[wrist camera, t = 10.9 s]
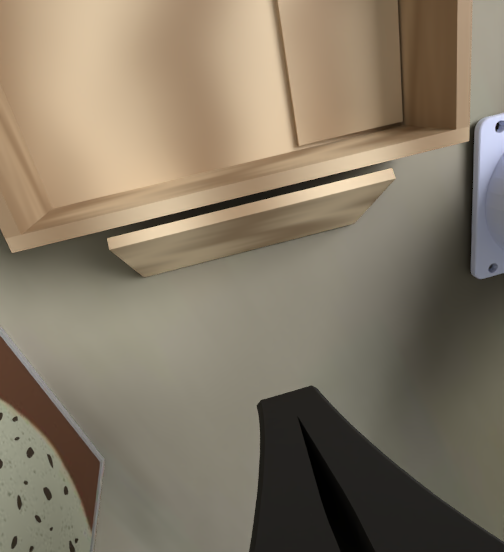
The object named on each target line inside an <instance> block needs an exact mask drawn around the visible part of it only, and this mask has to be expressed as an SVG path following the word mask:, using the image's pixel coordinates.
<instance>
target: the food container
mask: <svg viewBox="0 0 504 552" xmlns="http://www.w3.org/2000/svg"><path fill="white" fill-rule="evenodd" d="M104 465H105V459H104V458H103V457H102V455H101V454H100V453H99V452H98V450H97V449H96V448H95V446H94V445H93V444H92V443H91V441H90V440H89V439H88V437H87V436H86V435H85V434H84V432H83V431H82V430H81V428H80V427H79V426H78V425H77V423H76V422H75V421H74V419H73V418H72V417H71V416H70V414H69V413H68V412H67V410H66V409H65V408H64V407H63V405H62V404H61V403H60V401H59V400H58V399H57V398H56V396H55V395H54V394H53V392H52V391H51V390H50V389H49V387H48V386H47V385H46V383H45V382H44V381H43V380H42V378H41V377H40V376H39V374H38V373H37V372H36V371H35V369H34V368H33V367H32V365H31V364H30V363H29V362H28V360H27V359H26V358H25V357H24V355H23V354H22V353H21V351H20V350H19V349H18V348H17V346H16V345H15V344H14V342H13V341H12V340H11V339H10V337H9V336H8V335H7V333H6V332H5V331H4V330H3V328H2V327H1V326H0V552H94V549H95V541H96V533H97V524H98V516H99V507H100V499H101V490H102V482H103V473H104Z"/></svg>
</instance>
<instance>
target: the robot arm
mask: <svg viewBox="0 0 504 552" xmlns="http://www.w3.org/2000/svg"><path fill="white" fill-rule="evenodd" d="M498 122H499V128H498V130H497V131H495V126H496V124H497V123H498ZM491 264H492V267H491V268H490V269H489V266H490V265H491ZM502 273H504V113H501V114H497V115H492V116H488V117H485V118H482V119H481V120H480V121H479V122H478V123H477V125H476V127H475V132H474V169H473V205H472V242H471V274H472V275H473V276H474V277H476V278H478V279H484V278H488V277H491V276H495V275H499V274H502ZM257 409H258V413H259V422H260V464H259V480H258V492H257V500H256V508H255V516H254V524H253V531H252V538H251V544H250V550H249V552H504V542H503V541H501V540H500V539H498V538H497V537H495V536H494V535H492V534H491V533H489V532H488V531H486V530H485V529H483V528H482V527H480V526H479V525H477V524H476V523H474V522H473V521H471V520H470V519H468V518H467V517H465V516H464V515H463V514H461V513H460V512H458V511H457V510H455V509H454V508H453V507H451V506H450V505H448V504H447V503H446V502H444V501H443V500H441V499H440V498H439V497H437V496H436V495H435V494H433V493H432V492H431V491H429V490H428V489H427V488H425V487H424V486H423V485H422V484H420V483H419V482H418V481H416V480H415V479H414V478H413V477H411V476H410V475H409V474H408V473H406V472H405V471H404V470H403V469H401V468H400V467H399V466H398V465H396V464H395V463H394V462H393V461H392V460H391V459H389V458H388V457H387V456H386V455H385V454H383V453H382V452H381V451H380V450H379V449H378V448H377V447H376V446H374V445H373V444H372V443H371V442H370V441H369V440H368V439H366V438H365V437H364V436H363V435H362V434H361V433H360V432H359V431H358V430H357V429H356V428H354V427H353V426H352V425H351V424H350V423H349V422H348V421H347V420H346V419H345V418H344V417H343V416H342V415H341V414H340V413H339V412H338V411H337V410H336V409H335V408H334V407H333V406H332V405H331V404H330V403H329V401H328V400H327V399H326V398H325V397H324V396H323V395H322V394H321V393H320V391H319V390H318V389H317V388H315V387H313V386H309V387H305V388H302V389H298V390H295V391H292V392H288V393H285V394H281V395H278V396H274V397H271V398H267V399H264V400H261V401H260V402H259V403H258V405H257Z"/></svg>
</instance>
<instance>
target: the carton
mask: <svg viewBox="0 0 504 552" xmlns="http://www.w3.org/2000/svg"><path fill="white" fill-rule="evenodd" d="M471 40H472V0H0V229H1V231H2V233H3V236H4V238H5V240H6V242H7V244H8V246H9V248H10V250H11V252H12V253H15V252H19V251H23V250H27V249H31V248H35V247H39V246H43V245H47V244H51V243H55V242H60V241H64V240H68V239H72V238H76V237H80V236H84V235H88V234H92V233H96V232H100V231H104V230H108V229H113V228H117V227H121V226H125V225H129V224H133V223H137V222H141V221H145V220H149V219H153V218H157V217H161V216H166V215H170V214H174V213H178V212H182V211H186V210H190V209H194V208H198V207H202V206H206V205H210V204H215V203H219V202H223V201H227V200H231V199H235V198H239V197H243V196H247V195H251V194H255V193H259V192H263V191H268V190H272V189H276V188H280V187H284V186H288V185H292V184H296V183H300V182H304V181H308V180H312V179H317V178H321V177H325V176H329V175H333V174H337V173H341V172H345V171H349V170H353V169H357V168H361V167H365V166H370V165H374V164H378V163H382V162H386V161H390V160H394V159H398V158H402V157H406V156H410V155H414V154H418V153H423V152H427V151H431V150H435V149H439V148H443V147H447V146H451V145H455V144H459V143H463V142H467V141H469V129H470V85H471ZM395 179H396V178H395V175H394V172H393V169H392V168H390V169H386V170H382V171H378V172H374V173H370V174H366V175H362V176H357V177H353V178H349V179H345V180H341V181H337V182H333V183H329V184H325V185H321V186H317V187H313V188H309V189H305V190H301V191H297V192H293V193H289V194H285V195H281V196H276V197H272V198H268V199H264V200H260V201H256V202H252V203H248V204H244V205H240V206H236V207H232V208H228V209H224V210H220V211H216V212H212V213H208V214H204V215H200V216H195V217H191V218H187V219H183V220H179V221H175V222H171V223H167V224H163V225H159V226H155V227H151V228H147V229H143V230H139V231H135V232H131V233H127V234H123V235H118V236H114V237H110V238H107V241H108V246H109V250H110V251H111V252H113V253H114V254H115V255H117V256H118V257H119V258H120V259H122V260H123V261H124V262H125V263H127V264H128V265H129V266H130V267H132V268H133V269H134V270H135V271H137V272H138V273H139V274H141V275H142V276H143V277H148V276H152V275H156V274H160V273H164V272H167V271H171V270H175V269H179V268H183V267H187V266H191V265H195V264H199V263H203V262H206V261H210V260H214V259H218V258H222V257H226V256H230V255H234V254H238V253H241V252H245V251H249V250H253V249H257V248H261V247H265V246H269V245H273V244H276V243H280V242H284V241H288V240H292V239H296V238H300V237H304V236H308V235H311V234H315V233H319V232H323V231H327V230H331V229H335V228H339V227H343V226H347V225H350V224H354V223H355V222H356V221H357V220H358V219H359V218H360V217H361V216H362V215H363V214H364V213H365V211H366V210H367V209H368V208H369V207H370V206H371V205H372V204H373V203H374V202H375V201H376V199H377V198H378V197H379V196H380V195H381V194H382V193H383V192H384V191H385V190H386V189H387V187H388V186H389V185H390V184H391V183H392V182H393V181H394V180H395Z"/></svg>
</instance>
